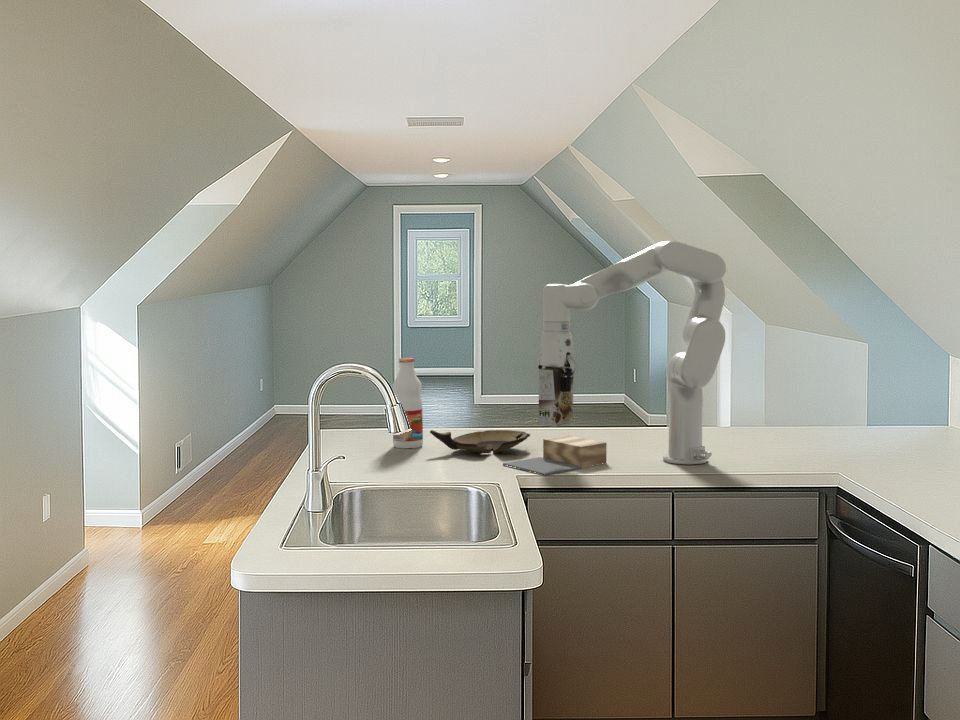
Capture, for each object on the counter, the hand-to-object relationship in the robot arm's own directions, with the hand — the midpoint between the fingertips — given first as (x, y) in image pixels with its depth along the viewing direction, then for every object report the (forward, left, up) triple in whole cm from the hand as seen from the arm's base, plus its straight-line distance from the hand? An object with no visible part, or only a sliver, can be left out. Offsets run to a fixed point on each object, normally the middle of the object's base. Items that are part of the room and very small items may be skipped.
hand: (556, 389), depth 280 cm
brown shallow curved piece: (+30, +4, -22) cm, 37 cm away
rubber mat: (0, +5, -22) cm, 22 cm away
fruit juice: (+51, +17, -22) cm, 58 cm away
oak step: (0, -7, -22) cm, 23 cm away
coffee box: (0, 0, -10) cm, 10 cm away
